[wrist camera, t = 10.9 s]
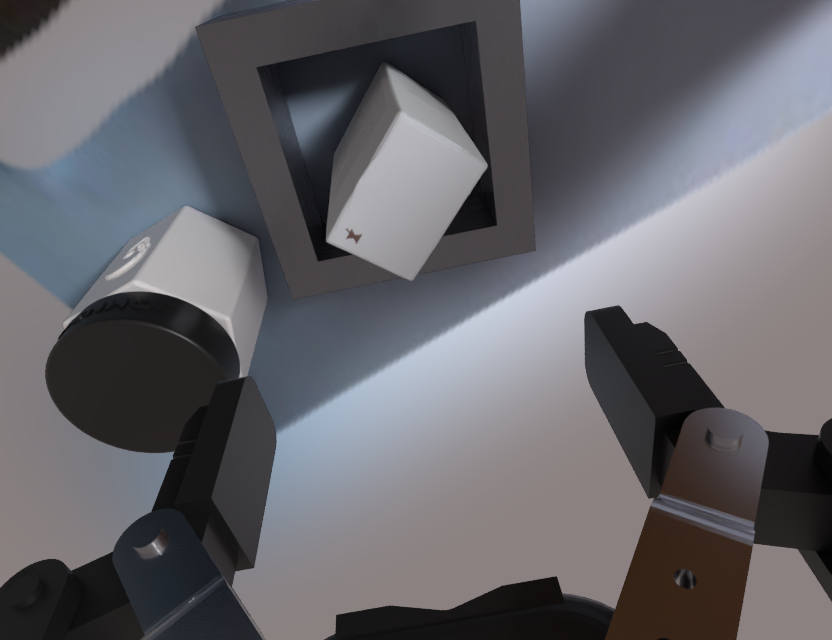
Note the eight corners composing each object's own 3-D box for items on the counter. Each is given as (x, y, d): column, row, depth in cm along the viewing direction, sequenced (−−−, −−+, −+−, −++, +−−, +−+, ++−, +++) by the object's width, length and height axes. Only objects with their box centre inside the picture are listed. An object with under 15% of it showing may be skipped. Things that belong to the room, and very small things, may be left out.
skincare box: (395, 189, 34) (410, 288, 24) (332, 154, 32) (319, 244, 22) (450, 98, 31) (492, 166, 21) (383, 55, 29) (395, 107, 19)
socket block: (493, -43, 27) (517, -43, 23) (514, 215, 35) (535, 250, 31) (219, 16, 28) (194, 27, 24) (300, 259, 36) (293, 299, 31)
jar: (214, 182, 32) (149, 283, 22) (296, 284, 37) (273, 407, 27) (99, 253, 34) (-8, 377, 24) (191, 343, 38) (132, 479, 28)
